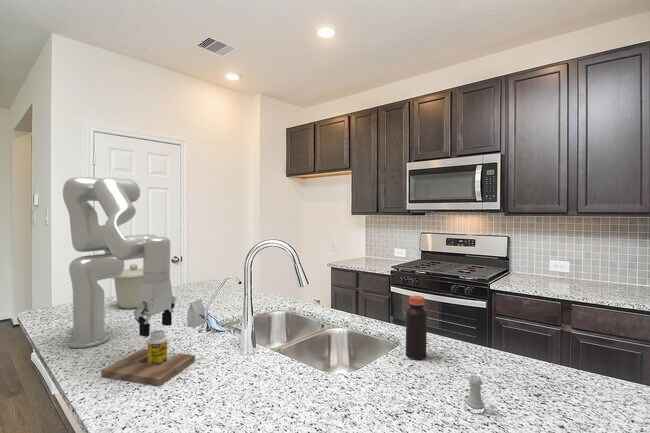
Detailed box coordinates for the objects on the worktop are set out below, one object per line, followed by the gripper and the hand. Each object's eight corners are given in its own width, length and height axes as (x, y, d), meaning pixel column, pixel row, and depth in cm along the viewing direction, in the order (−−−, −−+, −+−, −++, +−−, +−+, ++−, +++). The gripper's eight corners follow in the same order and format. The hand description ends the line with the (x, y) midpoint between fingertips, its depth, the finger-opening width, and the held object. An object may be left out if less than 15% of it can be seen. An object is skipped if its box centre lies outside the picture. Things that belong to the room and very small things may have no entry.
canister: (129, 300, 183) (129, 260, 182) (161, 301, 180) (161, 261, 180) (103, 310, 165) (103, 266, 164) (138, 312, 162) (137, 267, 162)
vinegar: (427, 354, 118) (428, 296, 118) (424, 362, 112) (425, 300, 112) (407, 350, 121) (408, 293, 121) (403, 358, 115) (404, 298, 114)
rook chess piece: (461, 404, 88) (462, 373, 88) (478, 403, 88) (479, 373, 88) (470, 415, 84) (471, 382, 83) (488, 414, 84) (489, 381, 84)
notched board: (101, 376, 101) (101, 370, 101) (142, 354, 116) (142, 348, 116) (159, 386, 96) (159, 379, 96) (194, 361, 111) (194, 355, 111)
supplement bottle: (148, 369, 105) (148, 336, 105) (146, 363, 110) (146, 331, 110) (168, 365, 108) (168, 333, 108) (165, 358, 113) (165, 327, 113)
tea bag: (204, 322, 149) (204, 299, 149) (195, 327, 143) (194, 303, 143) (197, 321, 150) (197, 298, 150) (187, 326, 144) (187, 302, 144)
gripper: (165, 270, 118) (164, 320, 118) (124, 281, 101) (123, 339, 102) (184, 272, 116) (183, 322, 116) (146, 283, 99) (145, 342, 100)
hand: (156, 330), depth 109 cm, fingers open, 9 cm apart
